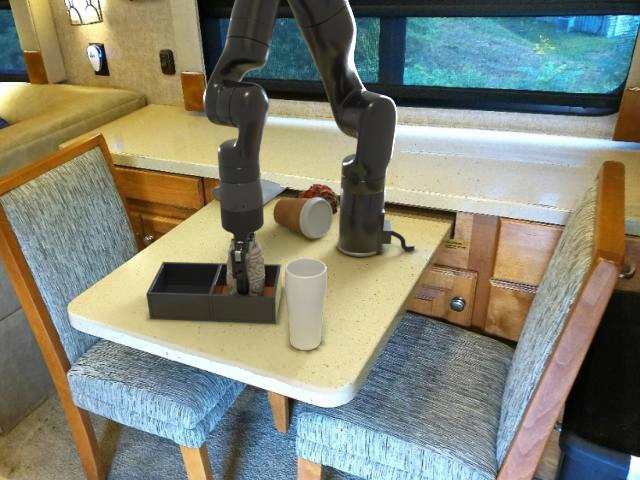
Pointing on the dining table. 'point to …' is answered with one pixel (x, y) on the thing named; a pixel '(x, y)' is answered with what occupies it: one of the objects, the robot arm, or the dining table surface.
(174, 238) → the dining table surface
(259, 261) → the carving
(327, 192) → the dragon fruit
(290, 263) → the drinking glass
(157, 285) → the storage box with compartments
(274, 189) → the hip flask
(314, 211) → the disposable coffee cup
